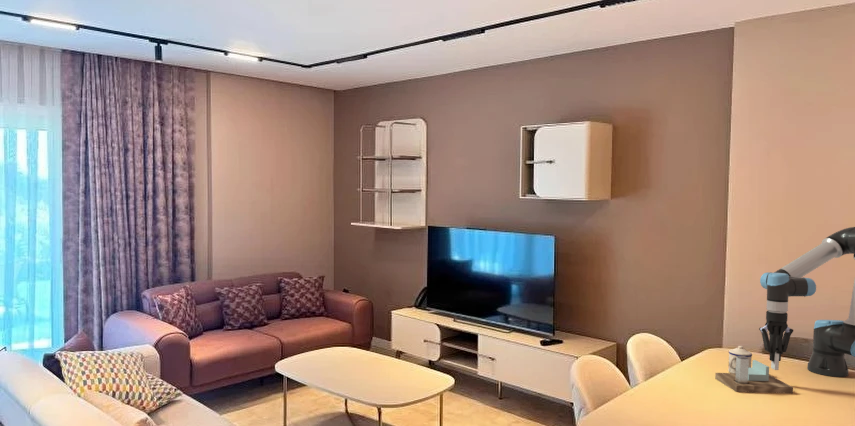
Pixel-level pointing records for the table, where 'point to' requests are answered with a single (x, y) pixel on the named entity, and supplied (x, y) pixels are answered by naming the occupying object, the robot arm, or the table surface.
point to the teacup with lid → (735, 353)
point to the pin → (742, 370)
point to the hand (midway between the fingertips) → (774, 368)
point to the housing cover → (758, 372)
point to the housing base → (754, 384)
